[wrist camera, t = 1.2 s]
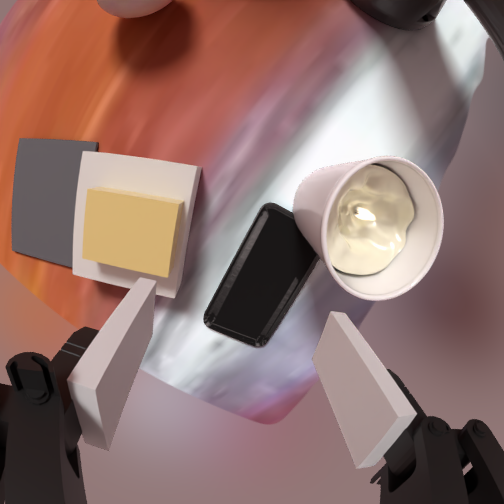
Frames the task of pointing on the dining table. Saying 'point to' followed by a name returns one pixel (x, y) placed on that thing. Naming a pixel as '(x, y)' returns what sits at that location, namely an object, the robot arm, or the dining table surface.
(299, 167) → the dining table surface
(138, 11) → the decorative fruit
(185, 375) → the dining table surface
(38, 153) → the dark grey mat
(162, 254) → the ochre tile
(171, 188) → the white stand
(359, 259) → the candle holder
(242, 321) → the phone
